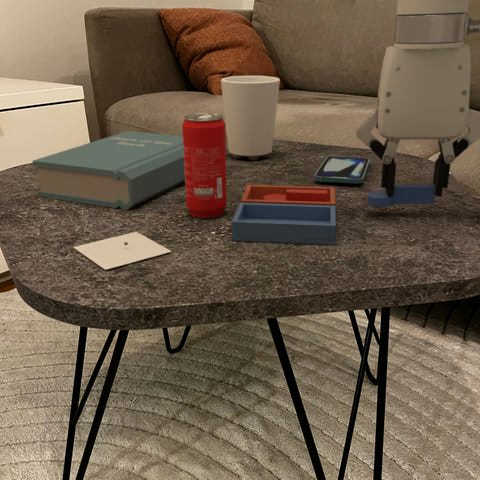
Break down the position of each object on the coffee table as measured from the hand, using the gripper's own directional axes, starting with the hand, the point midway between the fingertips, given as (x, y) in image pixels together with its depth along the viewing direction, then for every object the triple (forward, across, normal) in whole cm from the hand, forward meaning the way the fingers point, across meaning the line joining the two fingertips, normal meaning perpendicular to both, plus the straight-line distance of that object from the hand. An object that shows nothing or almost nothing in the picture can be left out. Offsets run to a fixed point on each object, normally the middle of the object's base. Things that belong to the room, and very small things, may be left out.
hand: (413, 192), depth 74 cm
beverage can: (+2, +26, +2) cm, 26 cm away
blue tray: (+3, +16, +8) cm, 18 cm away
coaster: (+2, +33, +16) cm, 37 cm away
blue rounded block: (+1, +1, 0) cm, 2 cm away
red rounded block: (+2, +15, 0) cm, 15 cm away
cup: (+2, +24, -30) cm, 39 cm away
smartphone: (+3, +8, -20) cm, 22 cm away
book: (+2, +40, -11) cm, 42 cm away
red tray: (+3, +16, 0) cm, 16 cm away
